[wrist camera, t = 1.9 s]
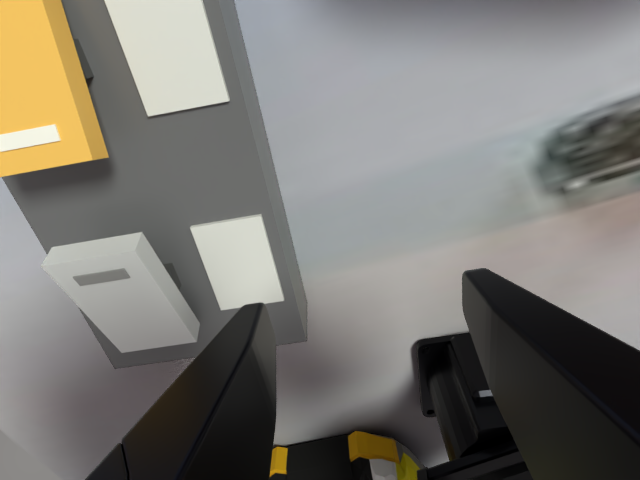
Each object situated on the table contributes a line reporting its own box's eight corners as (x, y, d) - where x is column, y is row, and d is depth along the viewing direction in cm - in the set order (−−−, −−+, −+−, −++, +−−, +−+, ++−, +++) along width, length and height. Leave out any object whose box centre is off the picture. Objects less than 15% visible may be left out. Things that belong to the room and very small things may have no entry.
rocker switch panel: (307, 303, 23) (306, 348, 20) (136, 328, 24) (110, 376, 21) (189, -181, 13) (153, -234, 10) (-93, -113, 14) (-204, -144, 11)
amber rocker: (109, 157, 14) (91, 160, 13) (10, 175, 14) (-14, 179, 13) (48, -42, 13) (23, -56, 12) (-62, -18, 13) (-95, -29, 12)
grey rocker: (200, 323, 20) (196, 342, 19) (127, 334, 20) (121, 354, 19) (142, 231, 16) (134, 252, 15) (51, 247, 16) (40, 267, 15)
